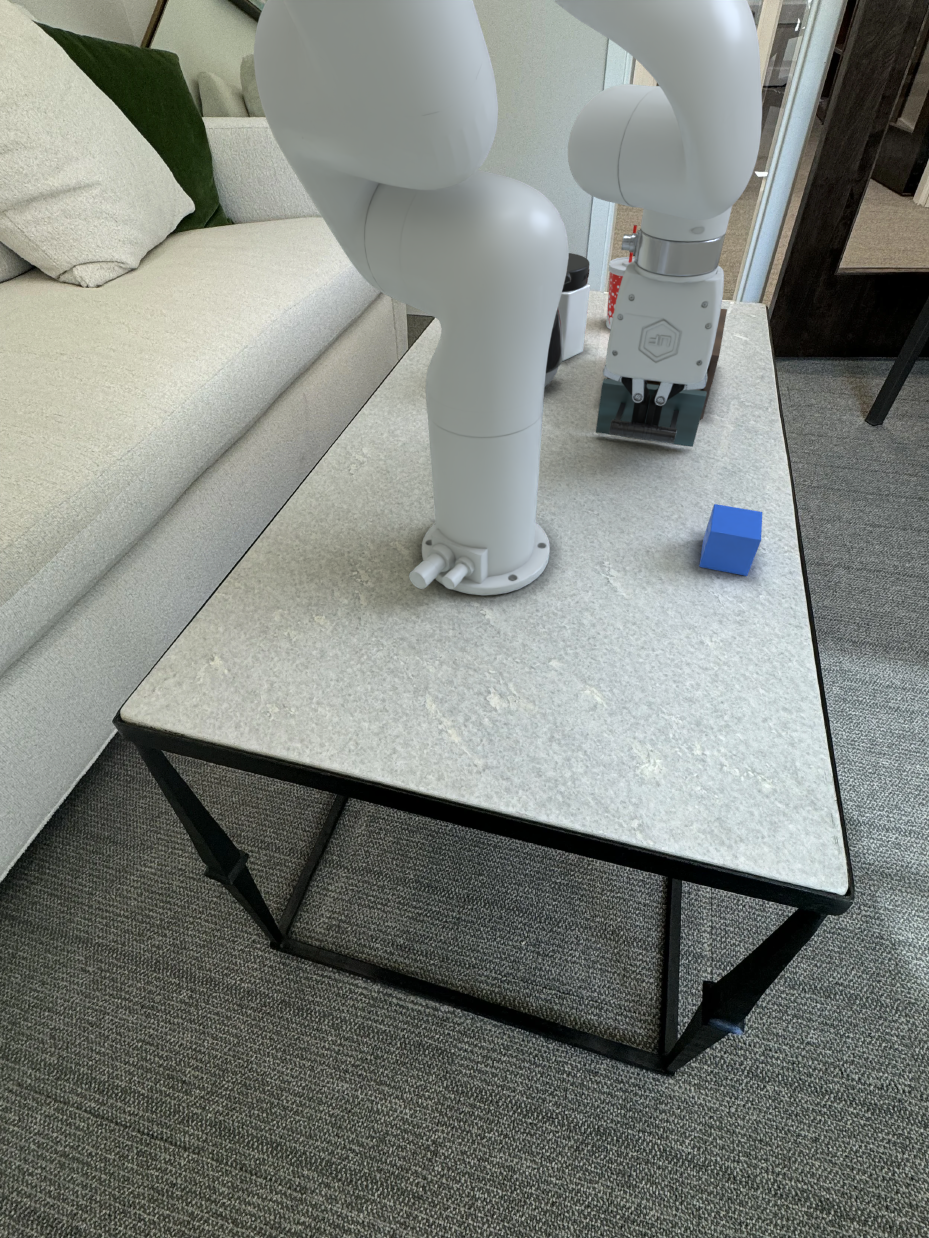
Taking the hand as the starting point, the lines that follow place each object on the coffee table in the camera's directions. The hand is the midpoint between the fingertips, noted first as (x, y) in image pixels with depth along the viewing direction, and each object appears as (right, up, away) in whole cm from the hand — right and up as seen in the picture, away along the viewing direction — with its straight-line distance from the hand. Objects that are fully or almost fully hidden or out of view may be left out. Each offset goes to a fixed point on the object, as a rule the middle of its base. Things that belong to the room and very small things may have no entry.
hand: (643, 431), depth 73 cm
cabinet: (+6, +10, +15) cm, 19 cm away
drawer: (+2, +3, +6) cm, 7 cm away
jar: (-7, +19, +24) cm, 31 cm away
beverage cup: (+5, +25, +29) cm, 39 cm away
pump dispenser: (-12, +11, +16) cm, 23 cm away
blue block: (+5, -15, -10) cm, 19 cm away
